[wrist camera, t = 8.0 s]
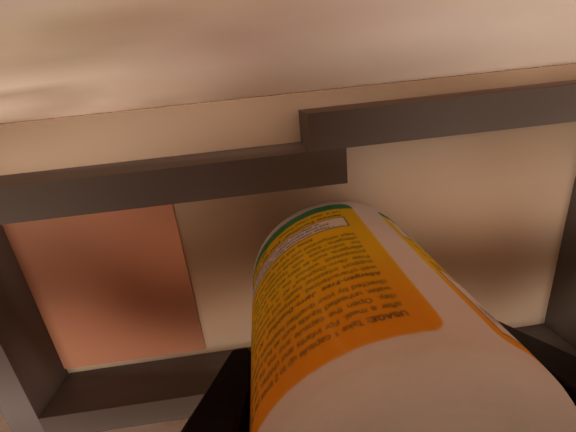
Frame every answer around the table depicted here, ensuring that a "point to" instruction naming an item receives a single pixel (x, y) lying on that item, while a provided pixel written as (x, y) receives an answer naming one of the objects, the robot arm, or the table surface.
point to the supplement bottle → (382, 338)
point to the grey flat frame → (262, 226)
